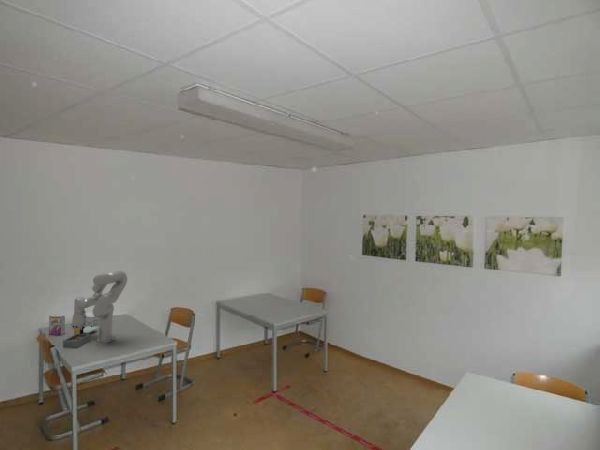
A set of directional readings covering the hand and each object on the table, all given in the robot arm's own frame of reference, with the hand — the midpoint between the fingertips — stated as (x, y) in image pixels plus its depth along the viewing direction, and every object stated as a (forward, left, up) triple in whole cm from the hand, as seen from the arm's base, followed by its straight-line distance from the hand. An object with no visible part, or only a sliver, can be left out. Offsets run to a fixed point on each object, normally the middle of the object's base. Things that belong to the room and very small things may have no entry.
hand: (78, 333), depth 298 cm
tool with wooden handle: (0, -8, -2) cm, 9 cm away
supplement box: (+14, -38, -4) cm, 41 cm away
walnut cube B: (-8, +18, -3) cm, 20 cm away
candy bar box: (+24, -6, -4) cm, 25 cm away
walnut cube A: (-8, +12, -3) cm, 14 cm away
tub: (-8, +15, -4) cm, 17 cm away
